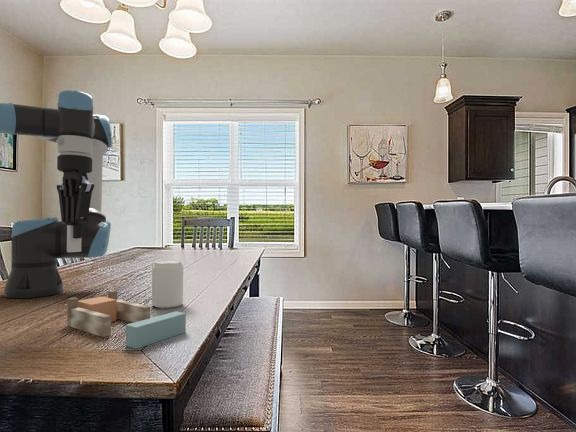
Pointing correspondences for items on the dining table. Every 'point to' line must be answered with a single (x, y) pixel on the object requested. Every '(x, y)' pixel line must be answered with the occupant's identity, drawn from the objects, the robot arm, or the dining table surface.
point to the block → (100, 306)
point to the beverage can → (167, 284)
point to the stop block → (155, 329)
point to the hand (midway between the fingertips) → (74, 251)
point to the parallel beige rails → (104, 315)
